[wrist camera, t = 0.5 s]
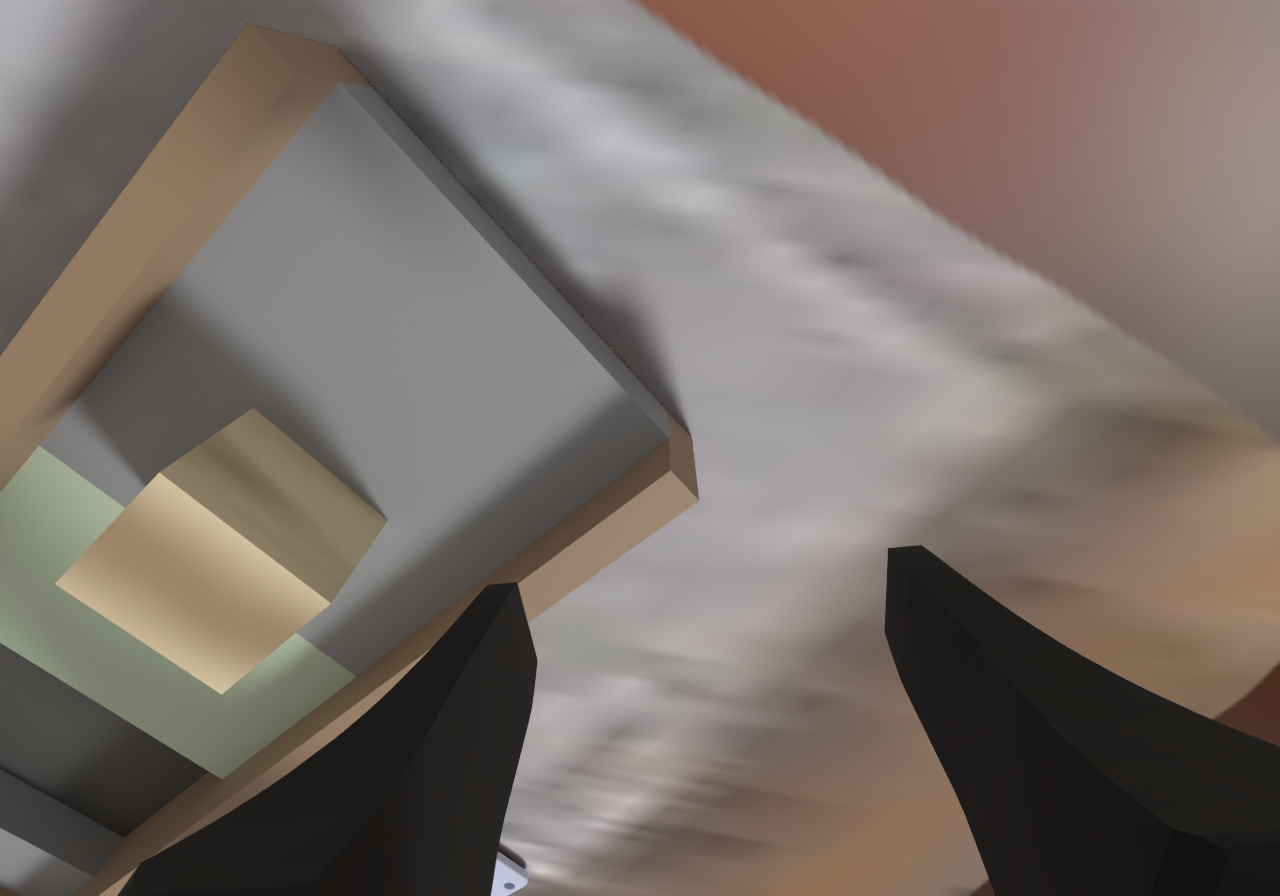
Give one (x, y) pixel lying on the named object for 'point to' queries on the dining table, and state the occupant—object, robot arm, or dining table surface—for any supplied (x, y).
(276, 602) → the wood block
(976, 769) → the robot arm
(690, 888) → the dining table surface
